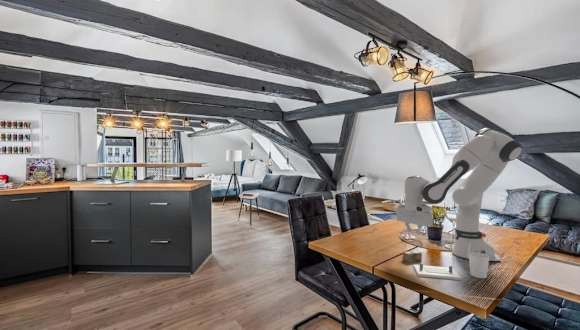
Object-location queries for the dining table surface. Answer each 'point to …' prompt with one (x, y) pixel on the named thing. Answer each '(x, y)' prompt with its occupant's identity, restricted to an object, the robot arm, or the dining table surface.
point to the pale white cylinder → (478, 264)
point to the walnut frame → (412, 256)
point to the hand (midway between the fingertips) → (413, 232)
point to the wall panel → (436, 272)
